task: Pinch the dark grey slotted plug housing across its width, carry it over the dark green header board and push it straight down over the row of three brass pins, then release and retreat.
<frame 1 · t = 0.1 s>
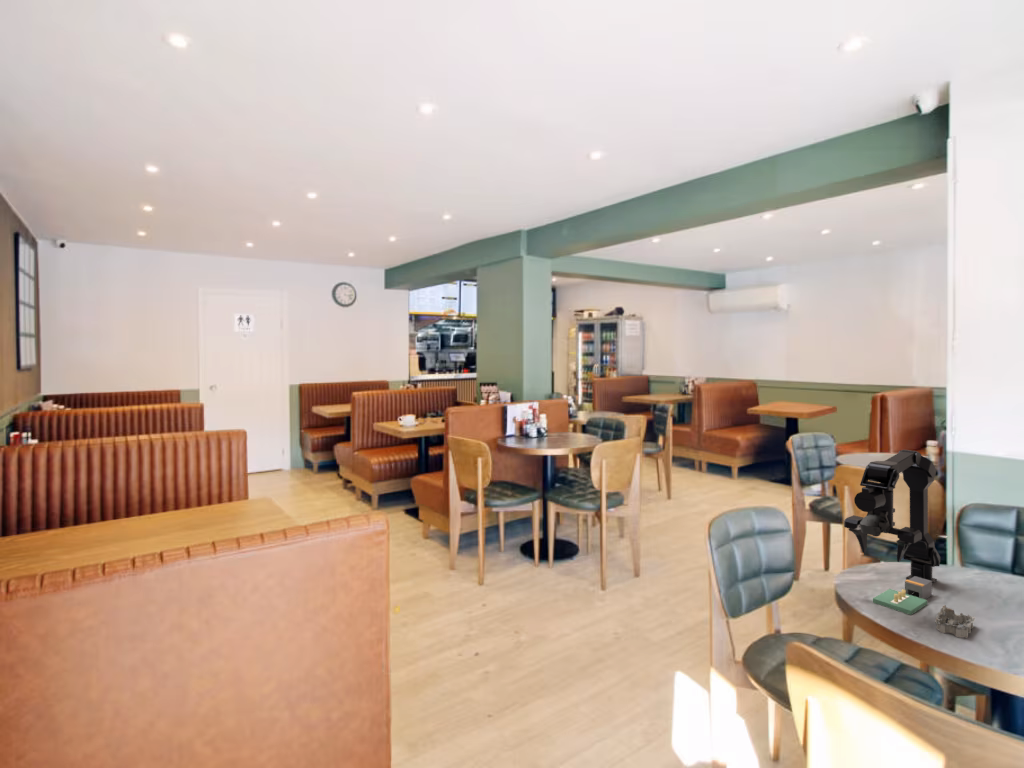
hand: (881, 556, 165), 15 cm above the table, fingers open, 9 cm apart
plug housing: (918, 595, 171), on the table
egg carton: (955, 629, 151), on the table
header board: (899, 603, 166), on the table
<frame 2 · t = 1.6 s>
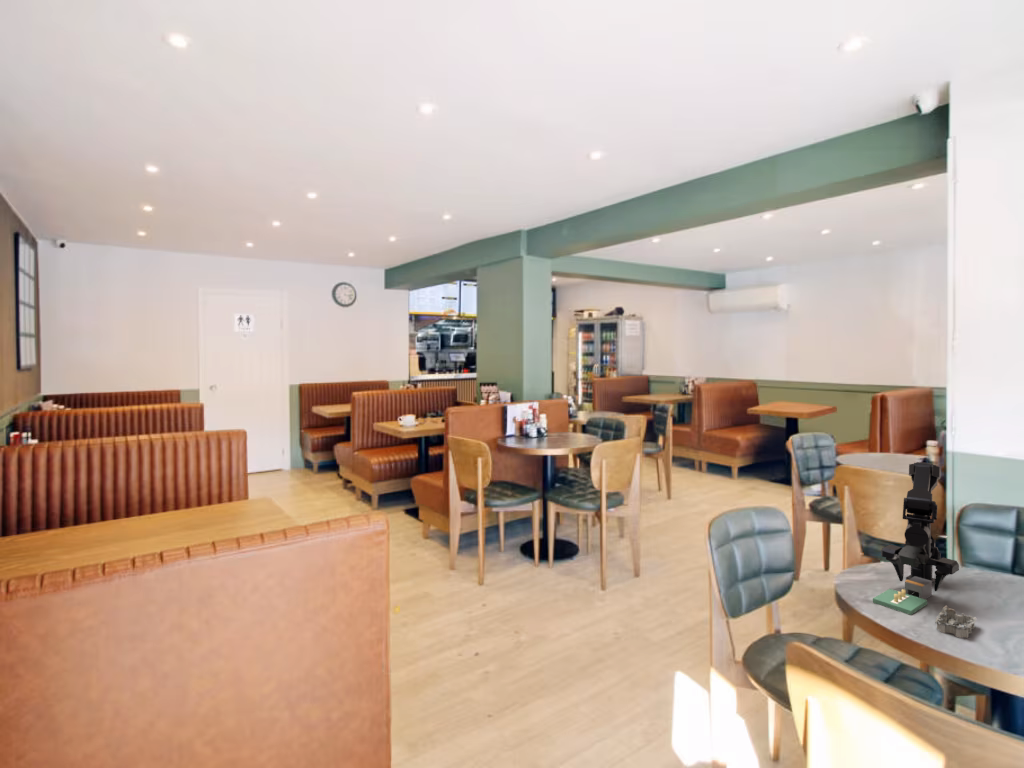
hand: (918, 585, 170), 3 cm above the table, fingers open, 9 cm apart
nothing on the table moved.
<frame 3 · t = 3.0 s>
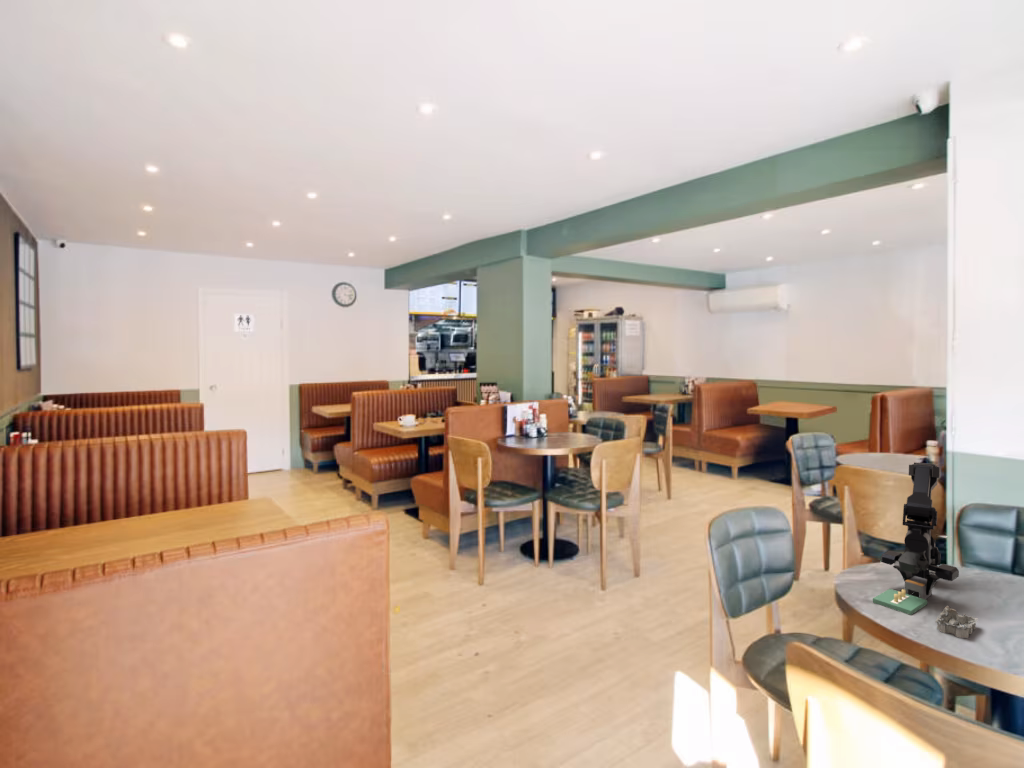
hand: (918, 592, 170), 1 cm above the table, fingers closed on plug housing, 5 cm apart
plug housing: (918, 595, 171), on the table, touching gripper
everything else where it was.
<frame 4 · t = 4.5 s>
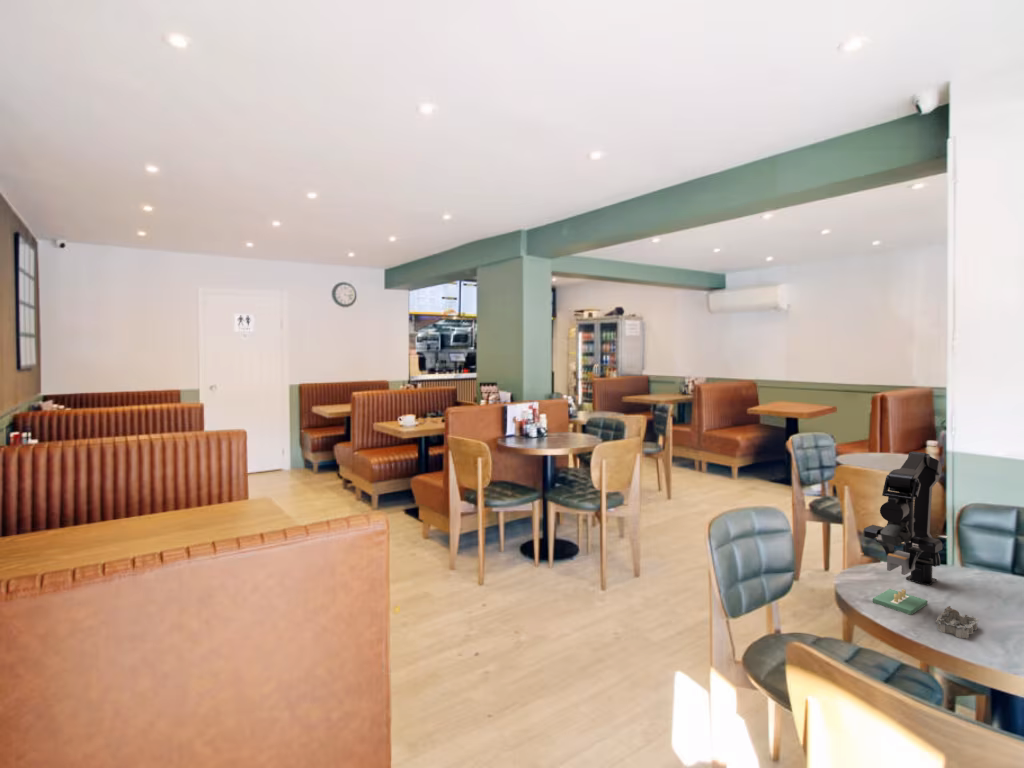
hand: (901, 566, 165), 11 cm above the table, fingers closed on plug housing, 5 cm apart
plug housing: (900, 569, 165), point 10 cm above the table, touching gripper
everything else where it was.
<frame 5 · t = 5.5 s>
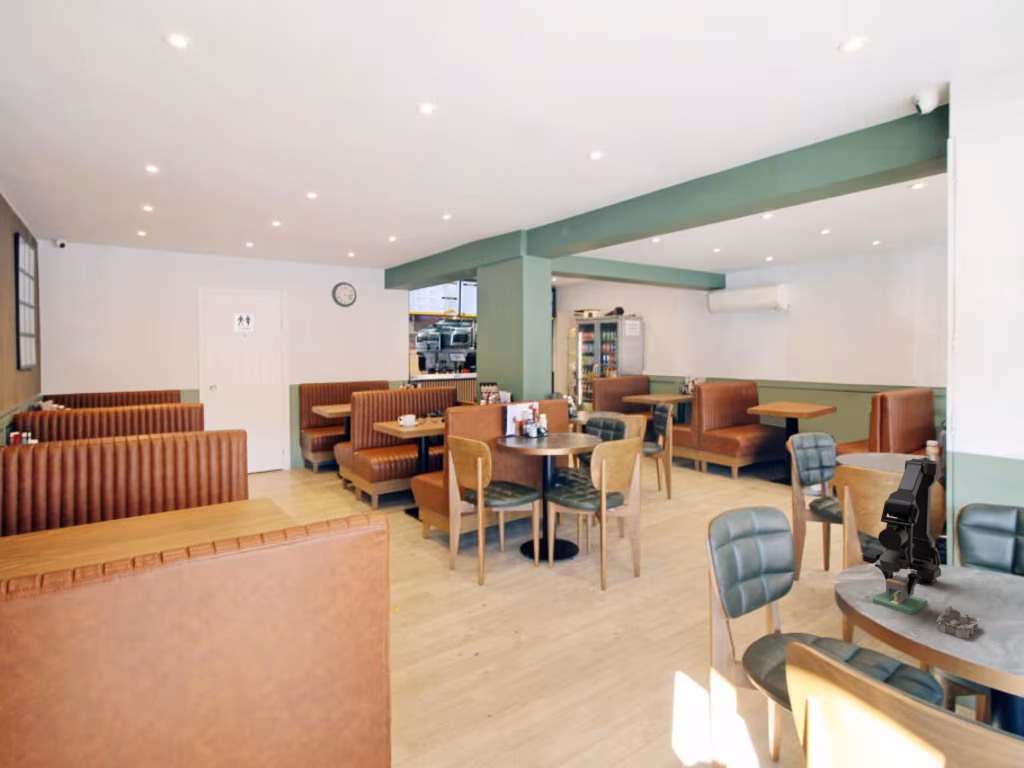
hand: (900, 591, 166), 4 cm above the table, fingers closed on plug housing, 5 cm apart
plug housing: (899, 594, 166), point 3 cm above the table, touching gripper
everything else where it was.
when the fingers open (3 cm above the table, at t = 6.4 s): plug housing stays where it is, resting on header board.
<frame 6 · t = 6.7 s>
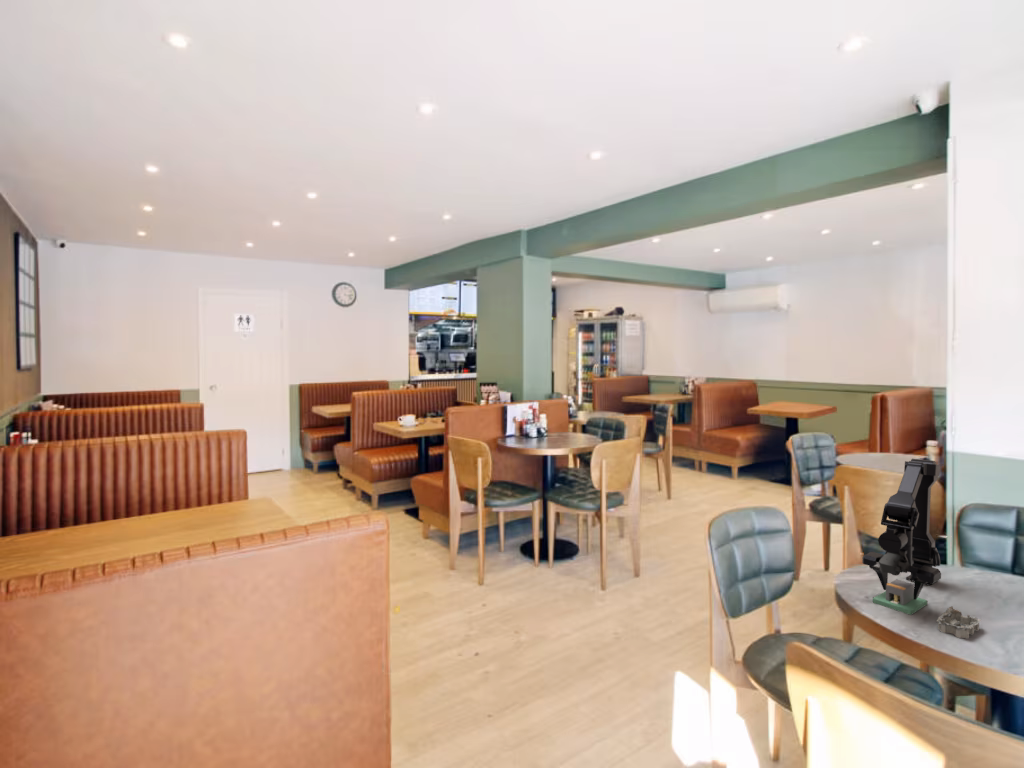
hand: (899, 594, 166), 3 cm above the table, fingers open, 8 cm apart
plug housing: (899, 599, 166), point 1 cm above the table, touching header board
everything else where it was.
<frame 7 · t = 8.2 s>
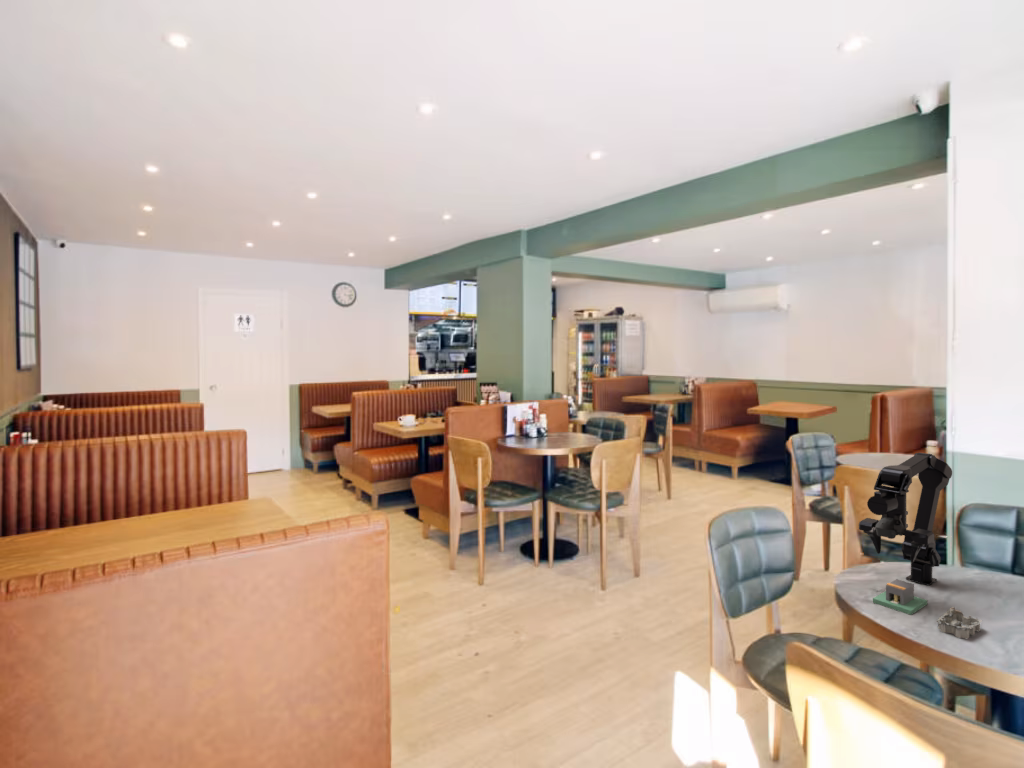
hand: (895, 557, 172), 11 cm above the table, fingers open, 9 cm apart
nothing on the table moved.
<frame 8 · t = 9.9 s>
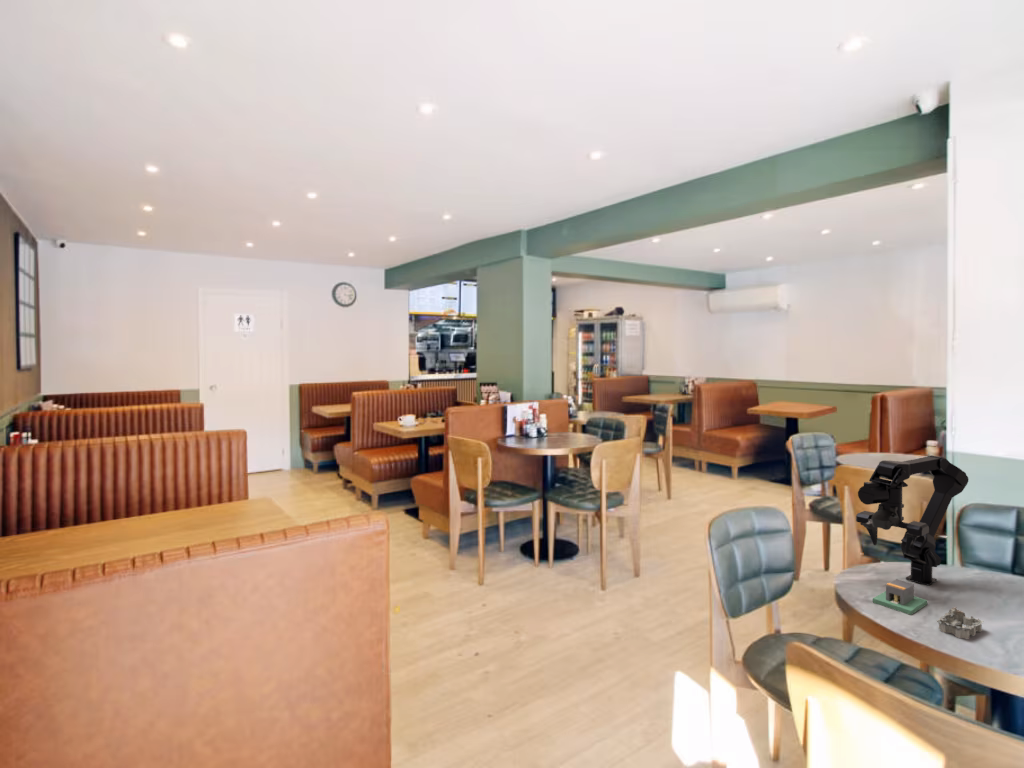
hand: (890, 549, 177), 12 cm above the table, fingers open, 9 cm apart
at the end: plug housing 0.0 cm off-centre on the header board, point 1.2 cm above the header board's base; plug housing tilted 0°; the gripper is holding nothing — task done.
